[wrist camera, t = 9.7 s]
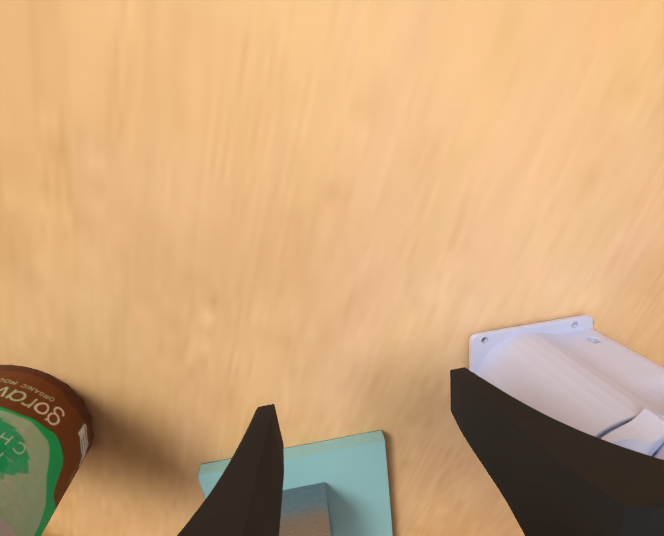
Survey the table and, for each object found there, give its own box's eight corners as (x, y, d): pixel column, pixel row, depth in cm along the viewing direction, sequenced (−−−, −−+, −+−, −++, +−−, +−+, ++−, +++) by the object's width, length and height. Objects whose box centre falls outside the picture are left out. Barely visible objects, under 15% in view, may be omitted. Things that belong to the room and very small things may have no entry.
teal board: (381, 430, 25) (384, 440, 25) (390, 540, 30) (394, 553, 29) (201, 464, 24) (197, 476, 23) (236, 574, 28) (235, 588, 28)
